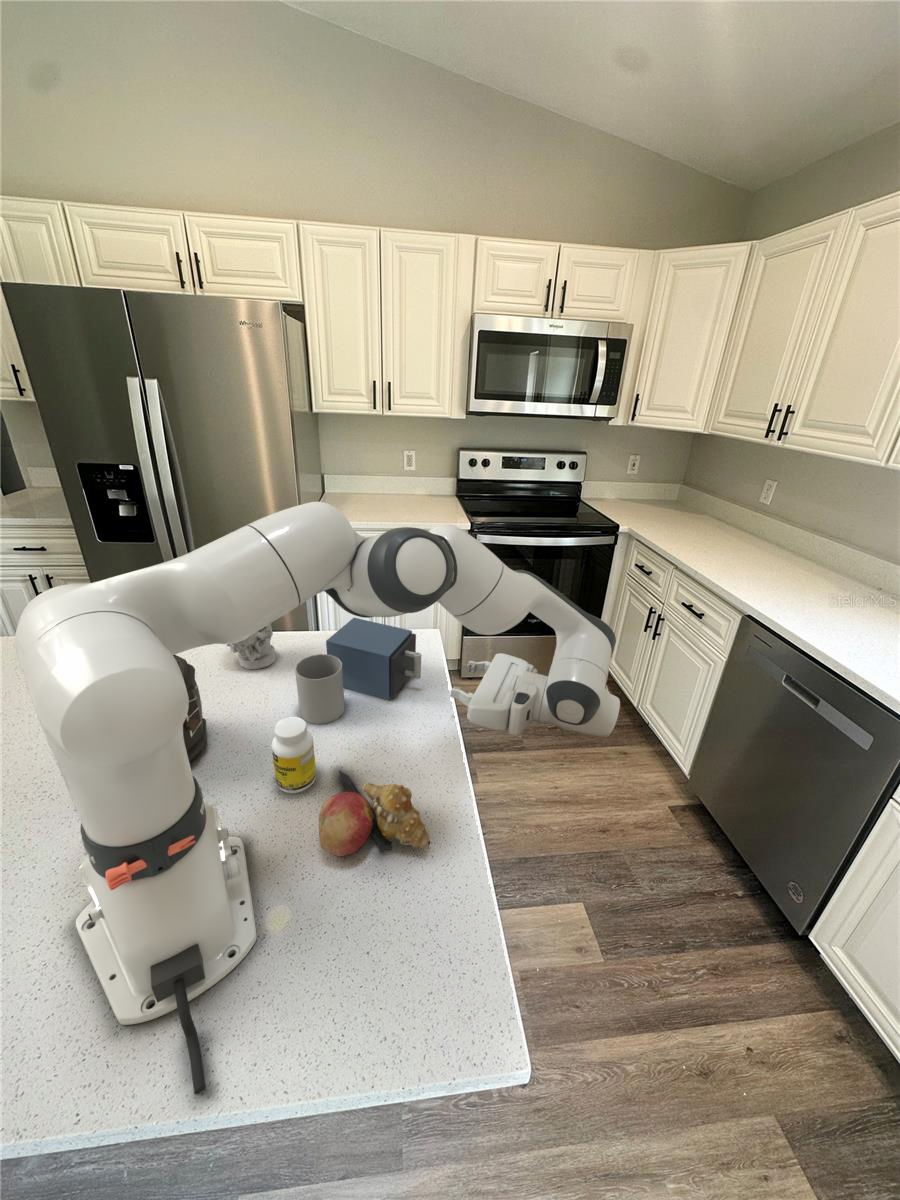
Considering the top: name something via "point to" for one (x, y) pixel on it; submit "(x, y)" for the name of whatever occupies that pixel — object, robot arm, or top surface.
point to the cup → (320, 688)
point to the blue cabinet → (367, 655)
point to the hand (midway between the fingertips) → (459, 677)
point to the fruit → (345, 823)
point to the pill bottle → (293, 755)
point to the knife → (375, 831)
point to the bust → (255, 649)
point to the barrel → (192, 713)
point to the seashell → (397, 814)
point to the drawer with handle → (405, 665)
